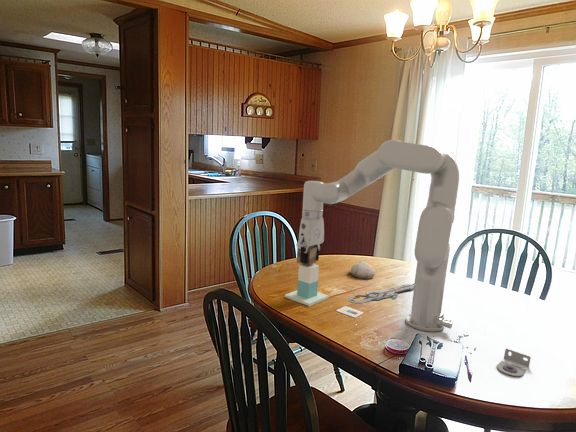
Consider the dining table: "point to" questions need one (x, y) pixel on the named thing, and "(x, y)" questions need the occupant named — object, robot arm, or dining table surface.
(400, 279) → the dining table surface
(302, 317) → the dining table surface
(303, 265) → the cream brick
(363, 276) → the stone
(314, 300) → the baseplate
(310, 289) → the teal brick
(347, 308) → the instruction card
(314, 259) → the walnut brick
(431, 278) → the robot arm
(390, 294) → the gun
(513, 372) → the bracket
